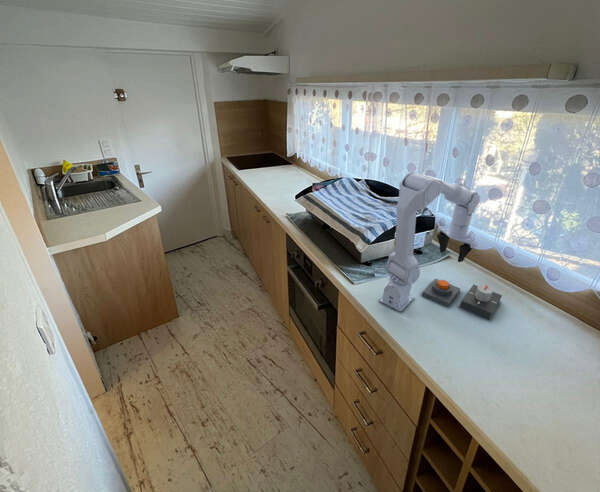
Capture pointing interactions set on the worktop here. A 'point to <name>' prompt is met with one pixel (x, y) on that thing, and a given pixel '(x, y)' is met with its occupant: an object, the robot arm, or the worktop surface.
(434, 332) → the worktop surface
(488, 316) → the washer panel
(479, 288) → the program dial
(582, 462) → the worktop surface
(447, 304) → the block
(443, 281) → the button
